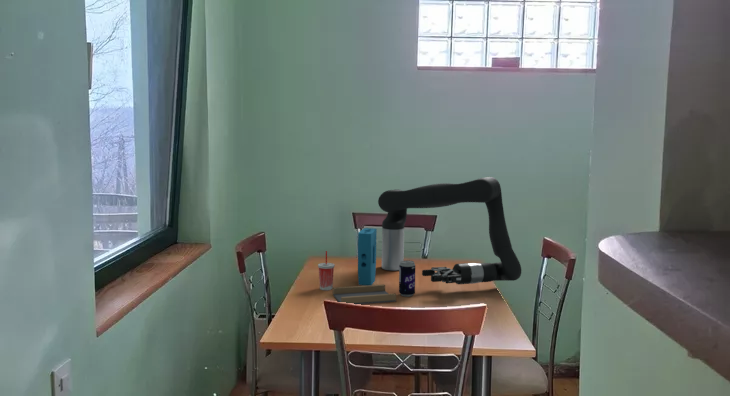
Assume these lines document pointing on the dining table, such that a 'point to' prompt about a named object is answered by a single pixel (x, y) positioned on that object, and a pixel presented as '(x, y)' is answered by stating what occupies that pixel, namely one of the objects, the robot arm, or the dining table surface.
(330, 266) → the beverage cup
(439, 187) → the robot arm
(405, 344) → the dining table surface
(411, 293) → the beverage can
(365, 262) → the block
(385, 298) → the brown open tray
